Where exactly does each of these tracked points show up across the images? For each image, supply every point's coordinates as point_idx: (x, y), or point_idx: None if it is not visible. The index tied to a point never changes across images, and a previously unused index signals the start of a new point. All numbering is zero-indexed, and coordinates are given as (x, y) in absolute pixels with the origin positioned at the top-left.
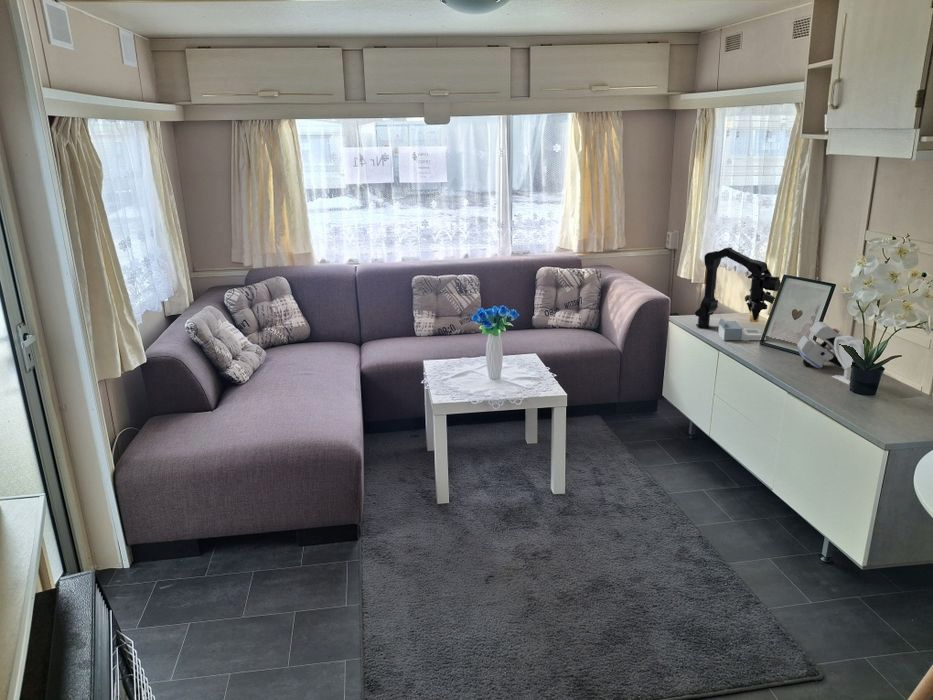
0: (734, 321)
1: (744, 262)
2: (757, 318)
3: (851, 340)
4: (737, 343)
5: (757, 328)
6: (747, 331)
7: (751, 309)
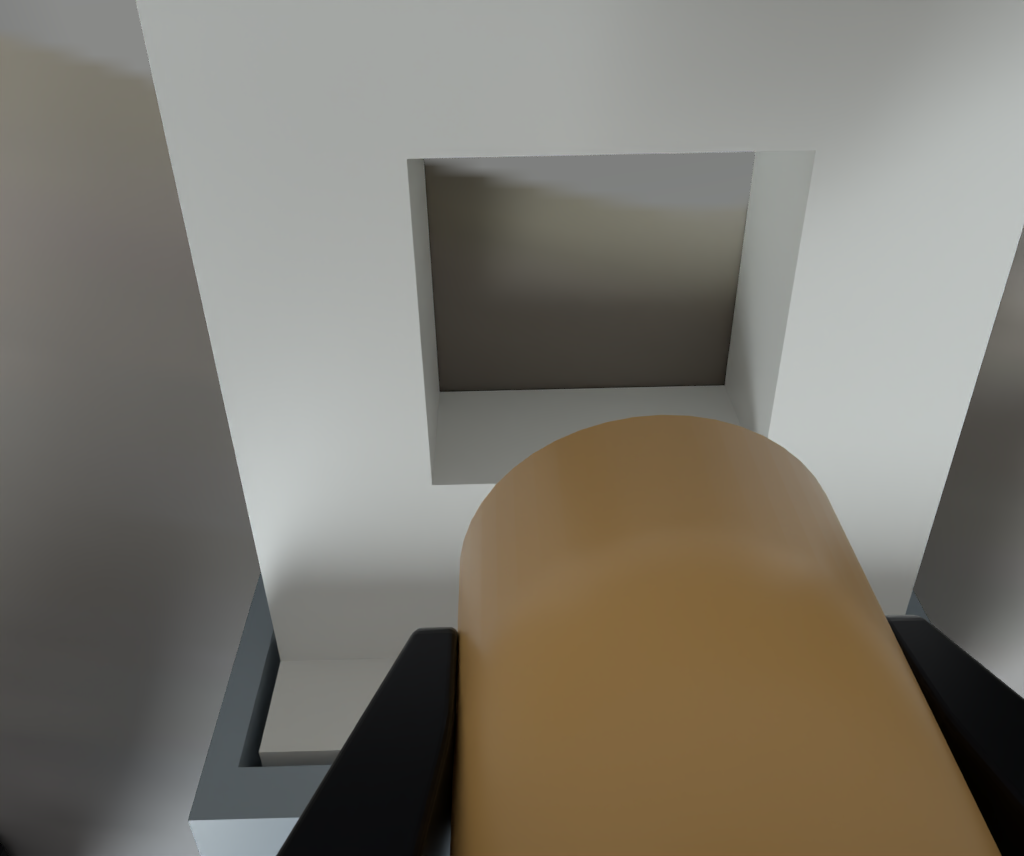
0: (227, 842)
1: None
2: (889, 627)
3: None
4: (1011, 616)
5: (171, 102)
6: (428, 413)
7: None
